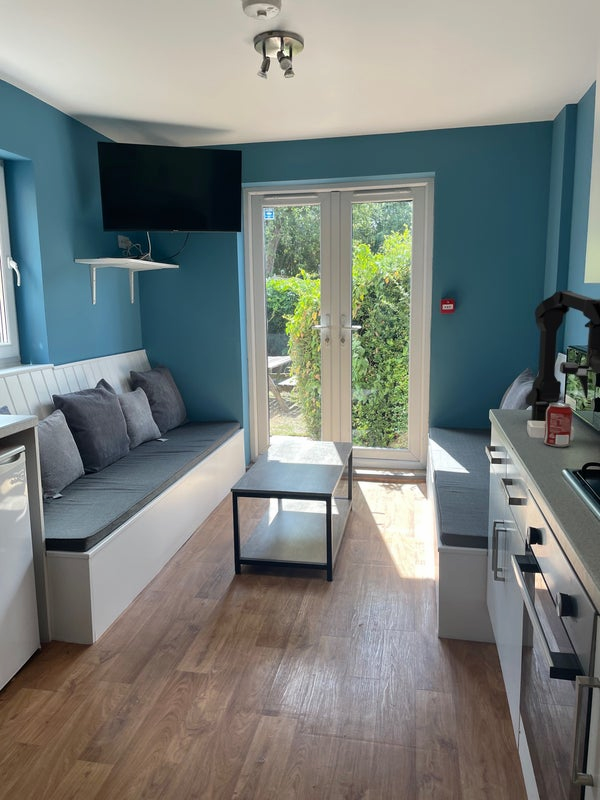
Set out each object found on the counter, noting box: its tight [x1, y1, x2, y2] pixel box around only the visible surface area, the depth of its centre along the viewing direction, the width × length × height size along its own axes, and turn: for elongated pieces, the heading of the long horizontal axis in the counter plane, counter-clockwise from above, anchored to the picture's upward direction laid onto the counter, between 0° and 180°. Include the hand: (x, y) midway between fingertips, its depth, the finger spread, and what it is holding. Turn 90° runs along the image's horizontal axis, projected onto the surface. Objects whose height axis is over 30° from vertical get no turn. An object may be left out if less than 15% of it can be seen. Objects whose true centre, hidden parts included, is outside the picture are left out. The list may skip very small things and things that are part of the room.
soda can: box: [543, 402, 573, 448], centre depth 164 cm, size 7×7×12 cm
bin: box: [526, 420, 575, 442], centre depth 176 cm, size 9×12×4 cm
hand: (594, 398), depth 166 cm, fingers open, 4 cm apart
